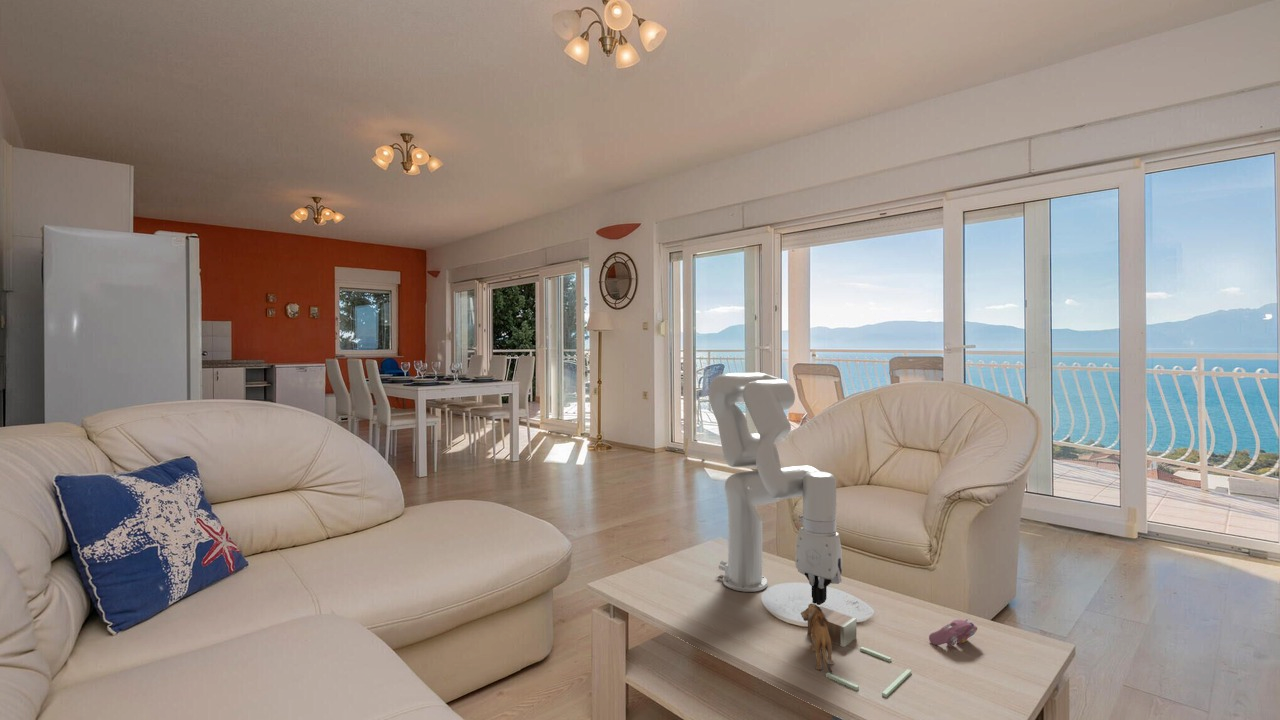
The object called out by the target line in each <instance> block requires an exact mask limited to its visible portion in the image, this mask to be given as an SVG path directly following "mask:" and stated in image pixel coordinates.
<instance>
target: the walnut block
mask: <svg viewBox="0 0 1280 720" xmlns="http://www.w3.org/2000/svg"><path fill="white" fill-rule="evenodd" d="M819 607H820V609H821V610H822V612H823V613H824V615H825V618H826V619H827V622H828V632H829V635H830V639H831V644H832V643H833V644H835V645H838V646H840V647H843V648H845V647H846V646H847V645H849V644H850V643H851V642H852V641H854V640H856V639H857V618H856V617H853V616H849V615H847V614H844V613H842V612H839V611H836V610H832V609H831V608H827V607H824V606H821V605H819ZM807 634H809V635H811V630H810V626H809V625H808V624H807Z"/></svg>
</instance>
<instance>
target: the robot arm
mask: <svg viewBox="0 0 1280 720" xmlns="http://www.w3.org/2000/svg"><path fill="white" fill-rule="evenodd" d="M708 398H709V399H708V400H709V403H710V407H711V409H712V412H713V415H714V417H715V420H716V422H717V427H718V432H719V438H720V439H719V440H720V443H721V448H722V453H723V457H724V460H725V463H726V464H727V466H729V467H731V468H736V469H737V468H748V467H749V468H753V467H756V469H757V470H748V471H739V472H736V473H733V474H731V475H730V476H728V477H727V479H725V482H724V483H725V484H724V493H725V495H724V496H725V498H726V505H727V521H728V522H727V530H728V531H727V535H728V537H727V543H728V544H727V548H728V549H727V551H728V553H727V560H723V559H722V560H721V561H720V562H719V564H718V567H717V568H718V569H719V570H720V571H724V575H723V576H722V584H723V585H724V586H725V587H727V588H728V589H730V590H734V591H737V592H744V593H745V592H746V593H751V592H752V593H754V592H759V591H762V590H765V589H766V588H767V587H768V585H769V580H768V578H766V577H765V576H764V575H763V520H762V518H761V516H760V514H759V512H758V511H757V509H756V506H760V505H768V504H772V503H778V502H780V501H781V500H786V499H787V500H788V499H794V498H802V515H799V516H798V518H797V520H798V522H801V523H802V526H801V527H799V530H798V534H797V538H796V539H797V540H796V544H795V545H796V546H795V555H794V556H795V559H794V564H795V568H796V569H797V572H798V573H800V574H801V575H804V576H805V577H806V579H807V581H808V583H809V585H810V586H811V598H812V604H816V605H817V606H821V605H822V604H824V603H825V602H826V601H827V599H828V598H827V592H828V590H827V589H828V588H827V587H829V585H831V584H833V585H838V584H841V583H842V581H843V580H842V576H841V575H842V573H843V551H842V544H841V539H840V534H839V532H837V479H836V477H835V475H834V474H832V473H831V472H827V471H821V470H819V469H817V468H816V467H814V466H811V465H803V464H801V465H792V466H783V467H782V465H781V464H782V463H781V461H780V455H779V451H778V448H777V445H776V444H777V443H778V442H779V441H781V440H782V439H785V437H787V436H788V435H789V433H790V432H791V430H792V429H791V428H792V425H791V422H790V421H789V419H788V417H787V415H786V413H785V411H784V410H789V409H790V408H791V407H792V406H793V405H794V403H795V399H796V393H795V391H794V388H793V386H792V385H791V384H790V383H789V382H788V381H786V379H782V378H780V377H776V376H774V375H771V374H767V373H763V372H729V373H728V372H727V373H726V372H725V373H722V374H719V375H717V376H715V377H714V378H713V379H712V380H711V382H710V385H709V389H708ZM736 403H744V404H745V406H746V408H747V411H748V413H749V415H750V418H751V419H752V423H753V424H754V427H755V429H756V431H757V433H756V432H755V433H751V432H750V429H749V426H748V420H747V418H746V415H745V414H744V413H743V411H742V409H740V407H739V406H737V405H736Z"/></svg>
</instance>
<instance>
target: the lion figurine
mask: <svg viewBox="0 0 1280 720" xmlns="http://www.w3.org/2000/svg"><path fill="white" fill-rule="evenodd" d="M807 606H808V607H807V608H806V609H805V610H804V611H801V612H800V615H801V618H802V619H803V621H804V622H807V626H808V625H809V626H810V630H811V634H810V640H811V646H810V647H809V650H810V651H815V655H816V663H817V664H816V665H815V669H816V670H818V671H820V670H821V671H822V659H823V663H824V665H825V667H826V669H827V672H828V673H830V674H833V670H832V669H831V667H830V666H829V665H834V664H835V662H834V660H833V659H832V648H833V647H832V642H831V639H830V635H829V632H828V622H827V619H826V618H825V615H824V613H823V612H822V610H821V609H820V605H817V604H814V603H810V604H808V605H807ZM821 652H822V659H821ZM826 653H827V655H826ZM826 656H827V657H826Z"/></svg>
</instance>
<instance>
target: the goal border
mask: <svg viewBox="0 0 1280 720" xmlns="http://www.w3.org/2000/svg"><path fill="white" fill-rule="evenodd" d="M859 651H860V652H863V653H865V654H867V655H871V656H874V657H875V658H878V659H881V660H884V661H886V662H890V663H891V661H892V657H890V656H887V655H886V654H883V653H880V652H877V651H875V650H873V649H870V648H867V647H863V646H860V648H859ZM911 674H912V669H909V668H906V670H905V671H903V672H902V673H901V674H900V675H899V676H898V677H896V679H895V680H894V681H892V683H891V684H890V685H888V687H886V688H885V689H884V690H883V691H882V692H881V696H882V697H884V698H888V696H889V695H891V694H892V692H893V691H895V690H896V689H897V688H898V687H899V686H900V685H901V684H902V683H903V682H904V681H905V680H906V679H907V678H908V677H910V676H911ZM825 677H826V678H827V677H829V678H828V679H830V678H831V679H830V680H832V679H833V680H832V681H834V680H835V681H834V682H836V681H837V683H839V684H841V685H843V686H845V685H846V687H848V688H850V689H852V688H853V689H852V690H854V691H859V689H860V686H859V685H857V684H856V683H854V682H850V681H848V680H846V679H845V678H842V677H839V676H837V675H835V674H833V673H830V672H827V673H825Z"/></svg>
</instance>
